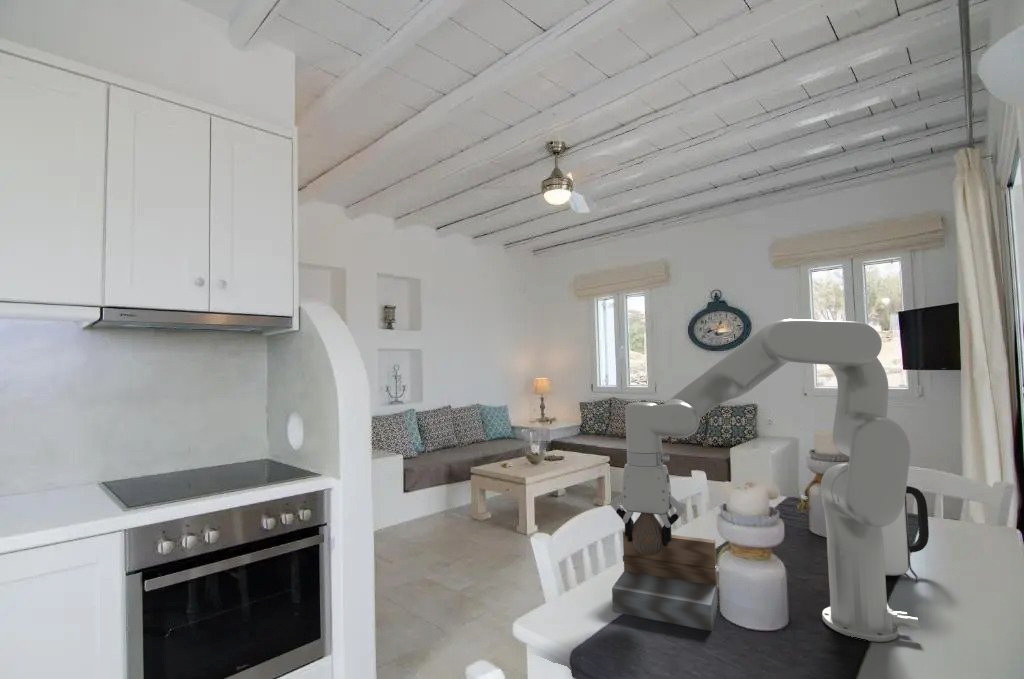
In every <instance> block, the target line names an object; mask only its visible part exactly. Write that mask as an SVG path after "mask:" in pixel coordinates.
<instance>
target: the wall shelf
mask: <svg viewBox="0 0 1024 679" xmlns="http://www.w3.org/2000/svg"><path fill="white" fill-rule="evenodd" d="M671 536H672V539H671V542H669V543H668V545H667V547H666V546H663V548H662V550H661V551H660V552H659V553H658V554H657V555H653V556H647V555H643V554H641V553H639V552H638V551H637V550H636V548H635V546H634V544H633V541H631V542H628V538H627V536H625V529H624V530H623V531H622V541H623V542H622V546H623V555H622V562H623V572H622V573H621V575H620V576H619V578H618V579H617V581H615V583H614V585H613V586H612V588H611V593H612V594H611V598H612V599H611V600H612V612H614V613H618V614H623V615H627V616H628V615H629V616H633V617H637V618H638V617H639V618H643V619H647V620H653V621H657V622H658V621H659V622H663V623H668V624H673V625H677V626H678V625H679V626H683V627H687V628H695V629H697V630H698V629H699V630H704V631H709V632H713V630H714V629H713V628H714V624H715V621H714V620H716V616H717V612H718V608H717V606H718V607H719V601H718V600H719V598H718V597H719V596H718V576H717V575H718V574H717V573H718V572H717V571H716V569H717V549H716V540H715V539H708V538H701V537H700V538H699V537H691V536H685V535H676V534H671ZM715 566H716V568H715ZM716 611H717V612H716Z"/></svg>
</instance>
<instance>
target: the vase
mask: <svg viewBox="0 0 1024 679" xmlns="http://www.w3.org/2000/svg"><path fill="white" fill-rule="evenodd" d="M662 528H663V526H662V524H661V522H660V521H659V520H658V518H657V517H656V516H655V514H648V513H640V514H639V516H637V519H636V520H635V521H634V525H633V528H632V541H633V544H634V546H635V548H636V550H637V551H638V552H639V553H641V554H643V555H647V556H653V555H657V554H658V553H659V552H660V551H661V550H662V548H663V532H662Z"/></svg>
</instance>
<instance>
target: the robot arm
mask: <svg viewBox="0 0 1024 679" xmlns="http://www.w3.org/2000/svg"><path fill="white" fill-rule="evenodd" d="M882 343H883V342H882V338H881V336H880V334H879V332H878V331H877V330H876V329H875V328H874V327H873V326H871V325H869V324H867V323H864V322H860V321H854V320H853V321H851V320H850V321H849V320H843V321H842V320H818V319H817V320H815V319H798V318H797V319H796V318H794V319H793V318H788V319H787V318H786V319H781V320H776V321H773V322H770V323H768V324H767V325H764V326H763V327H762V328H760V329H759V330H758V331H756V332H755V333H754V334H753V335H752V336H750V337H749V338H748V339H746V340H745V341H744V342H743V343H741V344H740V345H738V346H737V347H736V348H735V349H733V350H732V351H731V352H729V353H728V354H727V355H726V356H724V357H723V358H722V359H721V360H719V361H718V362H717V363H715V364H714V365H712V366H711V367H710V368H709V369H707V370H706V371H705V372H704V373H703V374H701V375H700V376H698V377H697V378H696V379H694V380H693V381H691V382H690V383H689V384H687V385H686V386H684V387H683V388H682V389H681V390H680V391H679V392H678V391H677V393H676V394H674V395H673V396H672V397H671V398H670V399H668V400H667V401H666V402H665V403H664V404H657V403H655V402H651V401H646V402H645V401H644V402H643V401H639V402H631V403H628V404H626V406H625V410H624V415H625V439H626V460H627V461H626V463H625V464H624V467H623V473H622V484H621V485H622V486H621V488H622V489H621V493H620V494H618V495H617V496H616V497H614V498H613V499H612V500H611V501H610V502H609V505H610V506H611V508H612V509H613V510H614V511H615V512H616V514H617V515H618V517H619V518H620V519H621V520H622V522H623V523H624V530H625V536H627V538H628V542H631V541H632V528H633V525H634V523H635V521H634V520H633V518H632V517H633V514H634V513H638V514H639V513H640V514H641V513H648V514H654V515H659V517H660V519H661V521H662V523H663V526H662V527H663V528H662V532H663V546H666V547H667V545H668V543H669V542H671V539H672V536H671V535H672V525H673V524H674V523H676V521H677V520H678V519H680V517H681V516H682V515H683V514H684V513H685V511H686V507H685V506H684V505H682V503H681V502H680V501H678V500H677V499H676V498H675V497H674V496H673V495H672V487H671V480H670V474H669V469H668V467H667V466H668V465H666V464H664V463H666V462H670V454H666V453H664V451H663V443H662V442H663V441H662V437H670V438H678V439H683V438H688V437H691V436H692V435H694V434H695V433H696V432H697V431H698V428H699V426H700V419H701V418H702V417H704V416H705V415H706V414H707V413H708V412H710V411H712V410H713V409H715V408H716V407H718V406H720V405H722V404H724V403H726V402H728V401H731V400H735V399H737V398H741V397H742V396H743V395H745V394H747V393H749V392H750V391H752V390H753V389H754V388H756V387H757V386H758V385H759V384H761V383H762V382H763V381H765V380H766V379H767V378H768V377H770V376H771V375H772V374H774V373H775V372H777V371H779V369H781V368H782V367H783V366H784V365H786V364H787V363H799V364H801V363H802V364H811V365H813V364H814V365H827V366H829V367H830V369H831V370H832V372H833V374H834V376H835V378H836V382H837V399H836V404H835V412H834V421H833V427H832V441H833V444H834V445H835V447H836V449H837V450H838V451H839V452H840V453H842V454H843V455H845V456H847V457H848V458H849V460H848V463H849V464H847V463H838V464H835V465H833V466H830V467H829V468H828V469H827V470H825V472H824V473H823V475H822V477H821V481H820V494H821V495H820V496H821V500H822V501H821V502H822V505H823V506H822V507H823V512H824V517H825V518H824V519H825V529H826V547H827V550H826V551H827V562H828V563H827V565H828V566H827V567H828V568H827V569H828V586H829V603H830V604H829V606H828V607H826V608H823V610H822V611H821V612H822V613H821V616H822V621H823V623H825V625H827V626H828V627H829V628H830V629H832V630H834V631H835V632H838V633H840V634H842V635H844V636H847V637H850V636H851V637H850V638H853V637H857V638H861V639H866V640H868V641H867V642H875V643H876V642H877V643H879V642H881V643H883V642H891V641H894V640H896V639H897V638H898V636H899V633H900V632H899V626H901V627H906V628H910V629H914V630H919V629H920V622H919V619H918V617H914V616H908V613H907V612H906V611H901V610H900V611H899V610H893V608H891V607H890V606H889V604H888V601H887V598H888V597H887V583H886V582H887V581H886V575H885V562H884V541H883V532H882V527H884V526H887V525H889V524H891V523H893V522H894V521H895V520H896V519H897V518H898V517H899V515H900V513H901V511H902V509H903V505H904V501H905V494H906V495H907V493H906V486H908V478H909V469H910V459H911V445H910V441H909V438H908V437H909V436H908V434H907V433H906V431H905V429H904V428H903V427H902V426H901V425H900V424H899V423H898V422H896V421H895V420H893V419H891V418H890V417H888V405H889V404H888V403H889V379H888V375H887V373H886V370H885V368H884V366H883V364H882V363H881V361H880V359H879V358H878V356H879V355H880V353H881V350H882V346H883V344H882ZM620 502H621V504H622V506H621V505H620ZM672 507H673V508H674V509H675V510H676V511H675V512H674V513H673V514H672V515H670V513H669V511H670V510H671V509H672ZM857 638H856V639H857ZM861 639H860V640H861ZM866 640H865V641H866Z"/></svg>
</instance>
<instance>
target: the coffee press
mask: <svg viewBox="0 0 1024 679" xmlns="http://www.w3.org/2000/svg"><path fill="white" fill-rule="evenodd" d="M846 464H849V462H847V463H846ZM907 494H910V495H912V496H913V497H914V499H915V501H916V507H917V524H918V525H917V526H918V536H917V537H918V538H917V540H916V541H915V542H914V543H911V544H910V534H909V531H910V530H909V519H908V518H909V517H908V504H907V503H908V502H907V501H908V500H907ZM929 527H930V526H929V513H928V504H927V499H926V497H925V495H924V493H923V492H922V491H921V490H920V489H918V488H916V487H913V486H910V485H907V486H906V494H905V501H904V505H903V509H902V511H901V513H900V515H899V517H898V518H897V519H896V520H895V521H894V522H893V523H891V524H889V525H887V526H884V527H882V532H883V541H884V562H885V576H901V575H904V576H905V577H906V578H908V580H909V581H911V582H913V581H915V582H917V580H918V577H919V576H918V575H917V574H916V572H915V571H914V570H913V568H912V565H911V564H912V563H911V553H916V552H917V553H918V552H920V551H922V550H924V548H926V546H927V544H928V542H929V539H930V538H929V537H930V535H929V533H930V529H929ZM909 571H910V572H911V574H912V575H913V576H914V577H915V578H912V577H911V576H910V575H909V574H908V572H909ZM913 579H914V580H913Z"/></svg>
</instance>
